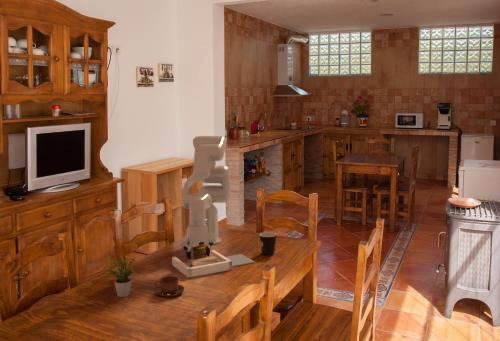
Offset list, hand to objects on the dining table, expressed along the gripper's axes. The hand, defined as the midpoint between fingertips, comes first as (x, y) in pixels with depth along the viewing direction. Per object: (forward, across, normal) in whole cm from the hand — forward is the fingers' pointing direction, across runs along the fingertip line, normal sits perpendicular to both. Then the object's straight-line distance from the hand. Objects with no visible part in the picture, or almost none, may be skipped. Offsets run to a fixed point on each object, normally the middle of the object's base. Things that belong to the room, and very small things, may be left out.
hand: (198, 257), depth 259 cm
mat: (+4, -19, +4) cm, 20 cm away
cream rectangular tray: (+4, 0, +4) cm, 6 cm away
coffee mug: (+4, -39, 0) cm, 39 cm away
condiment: (+4, 0, 0) cm, 4 cm away
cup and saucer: (+4, +25, +27) cm, 37 cm away
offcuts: (+4, 0, +8) cm, 9 cm away
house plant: (+4, +41, +18) cm, 45 cm away
